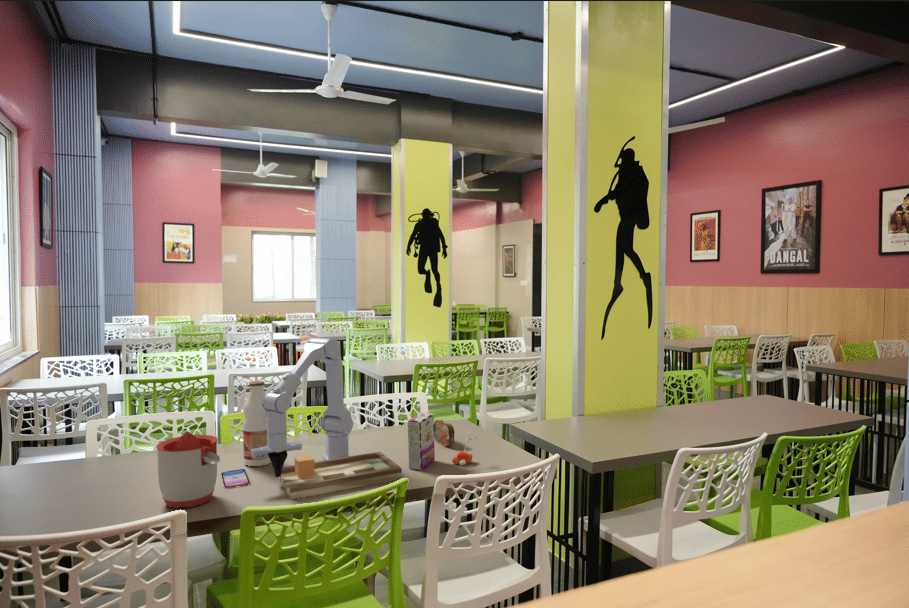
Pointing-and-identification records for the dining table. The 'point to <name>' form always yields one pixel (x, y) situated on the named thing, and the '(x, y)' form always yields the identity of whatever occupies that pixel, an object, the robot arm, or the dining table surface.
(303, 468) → the block
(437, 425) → the tin
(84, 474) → the dining table surface
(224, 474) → the smartphone
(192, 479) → the citrus juicer
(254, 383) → the fruit juice
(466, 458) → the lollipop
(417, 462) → the candy bar box
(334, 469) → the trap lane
